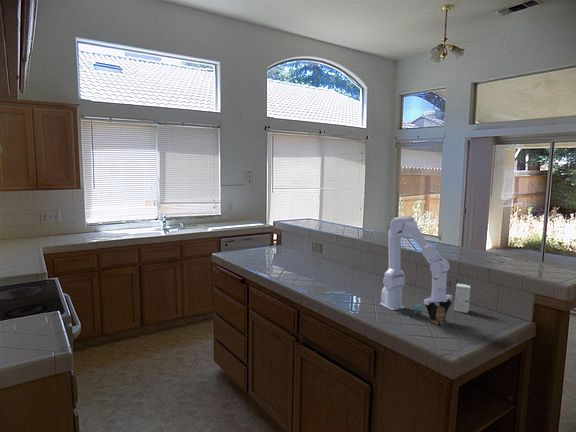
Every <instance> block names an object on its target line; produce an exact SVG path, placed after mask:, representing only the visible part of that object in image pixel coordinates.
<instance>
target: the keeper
mask: <svg viewBox="0 0 576 432" xmlns="http://www.w3.org/2000/svg"><path fill="white" fill-rule="evenodd" d="M437 306H438V308H437V310H436V315H435V320H431V319H430V320H428V321H429V323H430V322H431V323H432V324H433V325H439V321H443V320H446V316H447V315H446V316H445V308H444V307H441V306H440V305H437Z"/></svg>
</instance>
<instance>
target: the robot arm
mask: <svg viewBox="0 0 576 432" xmlns="http://www.w3.org/2000/svg"><path fill="white" fill-rule="evenodd" d="M389 225H390V226H389V228H388V234H387V236H388V237H387V238H388V240H387V243H388V269H387V270H386V271H385V272H384V277H383V280H382V283H383V286H384V287H383V288H382V290H381V299H380V300H381V301H380V303H379V305H381V306H383V307H385V308H386V309H389V310H391V311H397V310H401V309H406V306H405V305H402V302H403V301H402V300H403V299H402V296H403V287H404V286H405V284H406V277H405V271H404V270H402V269H401V263H402V262H401V261H402V259H401V254H402V253H401V252H402V251H401V250H402V249H401V236H402V235H404V234H407V235H410V237H412V238H413V240H414V241H415V242H416V243H417V245H418V246H419V247H420V248H421V250H420V251H421V254H422V256H423V257H424V258H425V260H426V261H427V263H428V264H429V270H430V272H431V276H432V277H431V293H430V294H431V295H430V296H429V297H428V298H424V299H423V304H424V305H425V307H426V310H427V312H428V313H427V314H428V315H429V317H430V319H431V320H435V315H436V310H437V308H438V306H441V307H444V308H445V316H447V312H448V311H449V309H450V307H451V306H452V304H453V303H452V300H453V295H452V294H447V280H448V279H447V277H448V271H450V269H451V263H450V262H449V260H448V259H447V258H444V257H443V256H441V254H440V253H439V252H438V250H437V248H436V246H434V244H430V243H428V241H427V240H426V238H425V236H424V235H423V233H422V231H421V230H420V229H419V227H418V222H417V221H416V220H415V218H414V217H413V216H411V215H407V216H401V217H397V216H396V217H394V218H393V219H392V220H391V221H390V223H389ZM436 303H438V305H436Z"/></svg>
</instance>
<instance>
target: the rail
mask: <svg viewBox="0 0 576 432" xmlns="http://www.w3.org/2000/svg"><path fill="white" fill-rule="evenodd" d="M413 308H414V312H413V314H414V315H416V316H417V315H418V316H420V317H422V318H424V319H427V320H428V321H429V320H430V317H429V313H427V312H423V311H422V310H423V305H422V304H421V303H419V304H414V307H413ZM438 325H439V326H441V327H445V326H448V320H447V319H445V320H443V321H439V324H438Z"/></svg>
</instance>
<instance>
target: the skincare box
mask: <svg viewBox="0 0 576 432" xmlns="http://www.w3.org/2000/svg"><path fill="white" fill-rule="evenodd" d="M471 286H472V285H470V284H469V285H468V284H464V283H456V285H455V297H454V307H453V309H454V310H453V311H454V312H460V313H466V314H468V313H469V311H470V295H471V289H472V288H471Z"/></svg>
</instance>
